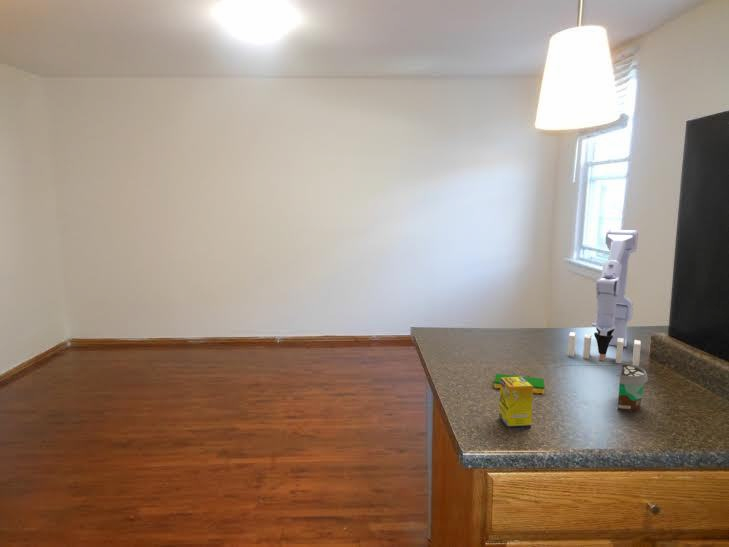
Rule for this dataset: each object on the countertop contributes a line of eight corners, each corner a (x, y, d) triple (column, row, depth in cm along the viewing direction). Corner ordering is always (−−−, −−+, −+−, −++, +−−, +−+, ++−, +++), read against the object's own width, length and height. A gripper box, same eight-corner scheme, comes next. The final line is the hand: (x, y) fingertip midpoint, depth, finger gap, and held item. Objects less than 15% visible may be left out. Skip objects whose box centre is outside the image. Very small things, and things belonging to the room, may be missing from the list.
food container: (644, 418, 114) (648, 380, 112) (617, 412, 117) (620, 375, 116) (645, 400, 124) (648, 365, 123) (619, 395, 127) (622, 361, 126)
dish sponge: (495, 380, 140) (495, 373, 140) (543, 386, 135) (543, 378, 135) (494, 389, 133) (494, 381, 133) (544, 395, 129) (544, 387, 128)
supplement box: (498, 418, 115) (499, 377, 113) (521, 416, 115) (523, 376, 113) (507, 429, 109) (509, 386, 107) (531, 428, 109) (533, 385, 108)
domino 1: (567, 355, 161) (568, 335, 160) (569, 351, 165) (570, 332, 164) (573, 356, 160) (574, 336, 159) (574, 352, 164) (576, 332, 163)
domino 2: (583, 358, 158) (584, 337, 157) (584, 353, 162) (585, 333, 161) (588, 358, 157) (590, 338, 156) (589, 354, 162) (591, 334, 160)
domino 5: (632, 365, 151) (634, 343, 150) (632, 360, 155) (634, 339, 154) (638, 366, 150) (640, 344, 149) (638, 361, 154) (640, 340, 153)
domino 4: (615, 362, 153) (617, 341, 152) (616, 358, 157) (617, 337, 156) (621, 363, 152) (623, 342, 151) (621, 359, 157) (623, 338, 155)
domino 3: (598, 360, 156) (600, 339, 155) (600, 356, 160) (601, 335, 159) (604, 361, 155) (606, 340, 154) (605, 357, 159) (607, 336, 158)
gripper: (594, 307, 163) (591, 343, 165) (591, 315, 151) (588, 354, 153) (616, 309, 159) (613, 346, 162) (615, 318, 147) (612, 358, 149)
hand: (603, 350), depth 157 cm, fingers open, 7 cm apart
